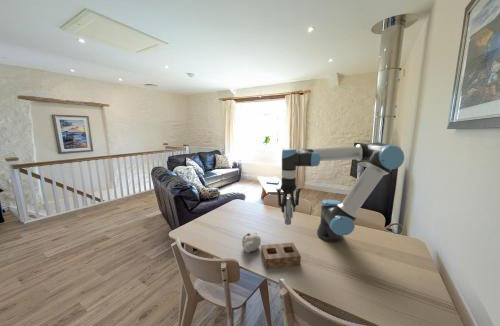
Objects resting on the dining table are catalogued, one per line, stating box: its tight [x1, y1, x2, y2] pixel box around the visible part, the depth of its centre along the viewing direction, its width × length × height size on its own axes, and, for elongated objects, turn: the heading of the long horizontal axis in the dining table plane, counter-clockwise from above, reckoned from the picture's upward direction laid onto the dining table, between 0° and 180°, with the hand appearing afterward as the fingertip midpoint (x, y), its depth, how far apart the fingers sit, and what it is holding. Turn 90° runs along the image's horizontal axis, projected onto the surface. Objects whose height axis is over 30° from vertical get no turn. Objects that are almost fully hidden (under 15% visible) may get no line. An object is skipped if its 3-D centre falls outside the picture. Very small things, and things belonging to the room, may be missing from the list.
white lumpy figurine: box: [241, 232, 262, 254], centre depth 117 cm, size 9×11×15 cm
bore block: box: [260, 242, 302, 269], centre depth 107 cm, size 18×12×5 cm, turn 97°
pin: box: [284, 196, 292, 226], centre depth 113 cm, size 4×4×15 cm
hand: (288, 217), depth 114 cm, fingers closed on pin, 3 cm apart
